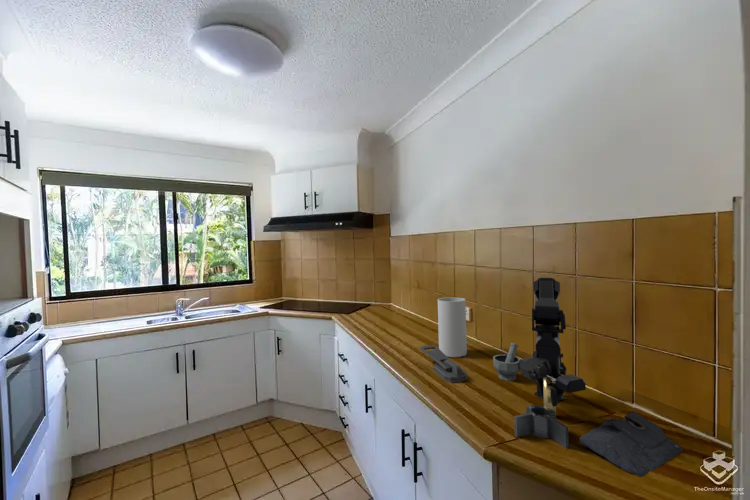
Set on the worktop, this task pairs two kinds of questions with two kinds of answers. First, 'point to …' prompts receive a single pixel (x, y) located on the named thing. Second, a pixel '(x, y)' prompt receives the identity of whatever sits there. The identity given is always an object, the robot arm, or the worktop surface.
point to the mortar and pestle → (507, 364)
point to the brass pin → (547, 393)
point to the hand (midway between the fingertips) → (549, 403)
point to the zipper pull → (445, 365)
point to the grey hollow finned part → (541, 425)
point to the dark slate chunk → (631, 444)
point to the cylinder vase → (452, 326)
